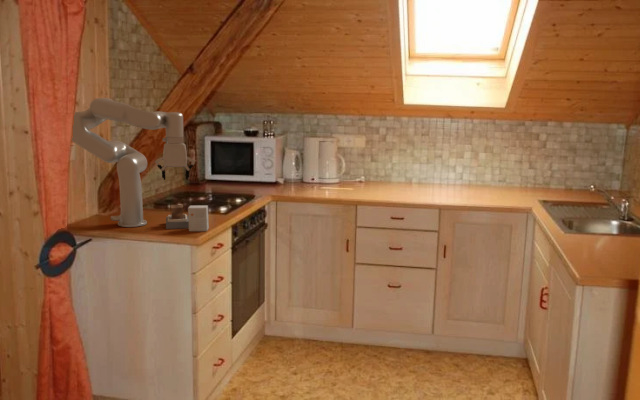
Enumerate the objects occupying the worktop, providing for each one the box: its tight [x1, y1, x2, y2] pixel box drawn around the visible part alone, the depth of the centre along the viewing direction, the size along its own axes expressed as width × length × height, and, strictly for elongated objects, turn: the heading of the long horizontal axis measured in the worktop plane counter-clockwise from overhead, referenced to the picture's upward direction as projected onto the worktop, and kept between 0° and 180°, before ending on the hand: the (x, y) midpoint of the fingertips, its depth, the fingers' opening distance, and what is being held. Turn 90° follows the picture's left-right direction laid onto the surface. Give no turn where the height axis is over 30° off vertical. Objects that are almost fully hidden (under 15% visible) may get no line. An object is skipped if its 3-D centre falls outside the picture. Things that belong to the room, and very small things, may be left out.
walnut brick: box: [170, 204, 184, 219], centre depth 274 cm, size 5×7×6 cm
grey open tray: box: [165, 213, 189, 230], centre depth 275 cm, size 10×12×4 cm
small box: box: [187, 204, 210, 232], centre depth 267 cm, size 8×6×10 cm
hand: (175, 179), depth 272 cm, fingers open, 9 cm apart
